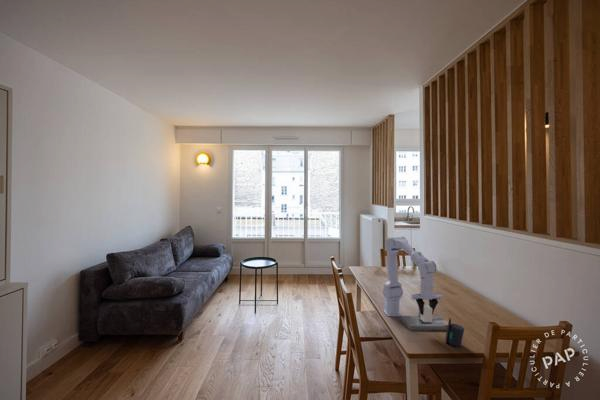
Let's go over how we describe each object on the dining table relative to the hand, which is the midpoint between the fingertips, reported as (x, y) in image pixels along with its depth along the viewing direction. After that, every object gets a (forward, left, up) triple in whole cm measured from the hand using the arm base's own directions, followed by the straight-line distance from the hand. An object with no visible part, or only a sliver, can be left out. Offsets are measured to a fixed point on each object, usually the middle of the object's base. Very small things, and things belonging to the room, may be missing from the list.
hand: (426, 314), depth 146 cm
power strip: (-11, +5, -10) cm, 16 cm away
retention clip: (-17, +9, -7) cm, 21 cm away
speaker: (+9, +9, -10) cm, 16 cm away
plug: (0, 0, -3) cm, 3 cm away
